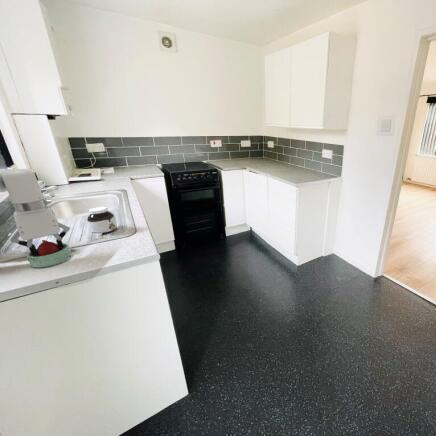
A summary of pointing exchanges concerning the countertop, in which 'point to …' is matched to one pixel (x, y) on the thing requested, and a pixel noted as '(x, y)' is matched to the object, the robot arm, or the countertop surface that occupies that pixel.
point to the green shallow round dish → (50, 258)
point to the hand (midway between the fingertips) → (49, 252)
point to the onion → (47, 248)
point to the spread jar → (101, 220)
